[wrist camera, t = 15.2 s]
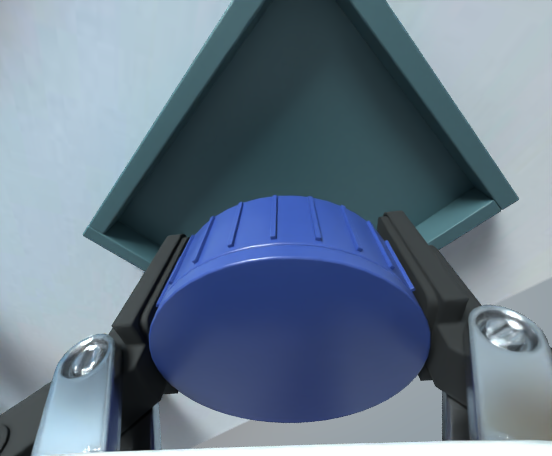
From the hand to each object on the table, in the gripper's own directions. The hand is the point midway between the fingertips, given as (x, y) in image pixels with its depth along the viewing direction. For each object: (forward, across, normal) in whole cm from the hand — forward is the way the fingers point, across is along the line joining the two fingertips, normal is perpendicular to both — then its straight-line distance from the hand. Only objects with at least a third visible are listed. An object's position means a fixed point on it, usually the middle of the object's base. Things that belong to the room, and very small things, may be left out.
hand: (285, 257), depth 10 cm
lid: (-4, 0, 0) cm, 4 cm away
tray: (+5, 0, 0) cm, 5 cm away
